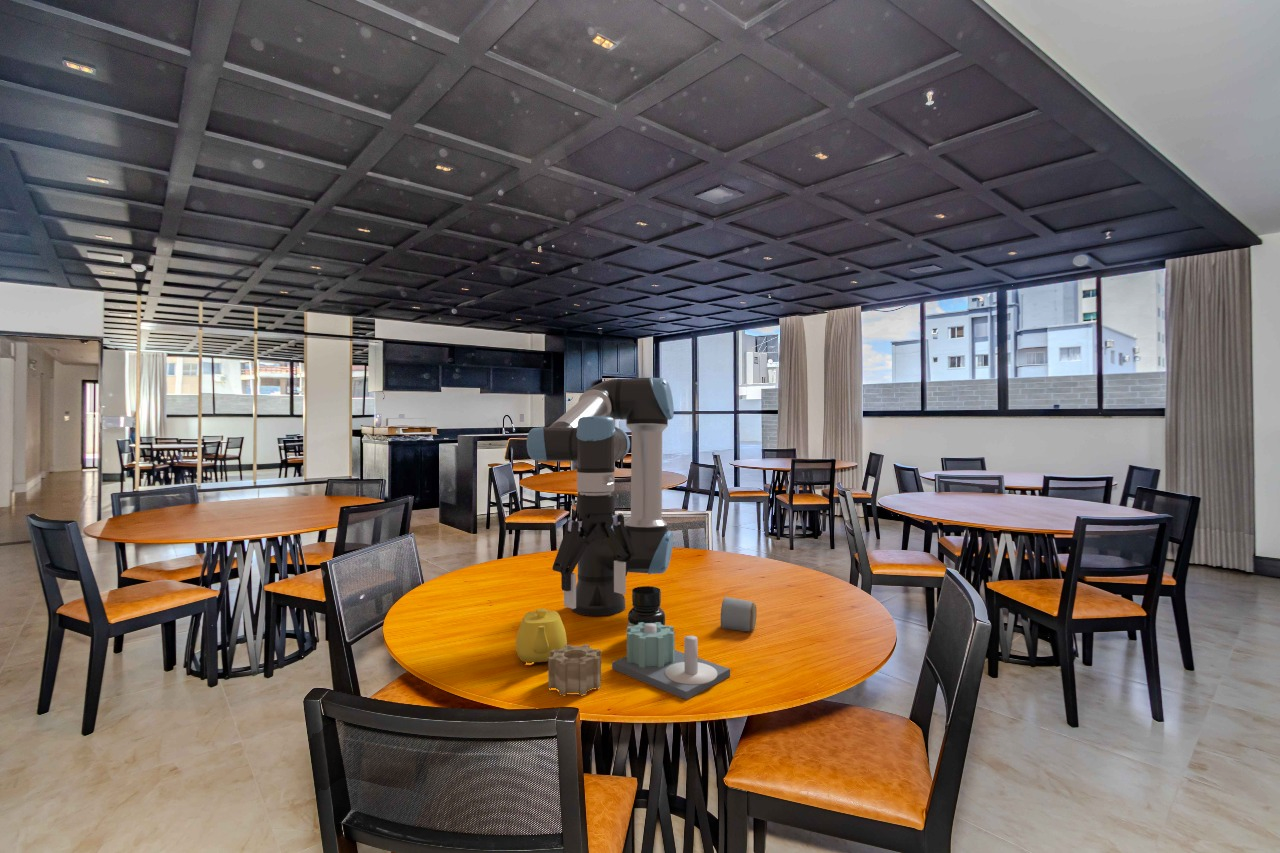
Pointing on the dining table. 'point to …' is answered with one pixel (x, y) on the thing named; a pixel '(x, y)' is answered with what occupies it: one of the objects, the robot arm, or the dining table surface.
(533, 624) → the teapot
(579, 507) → the robot arm
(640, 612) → the ink bottle
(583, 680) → the birch gear
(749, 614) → the ceramic mug
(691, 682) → the gear board
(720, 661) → the dining table surface
